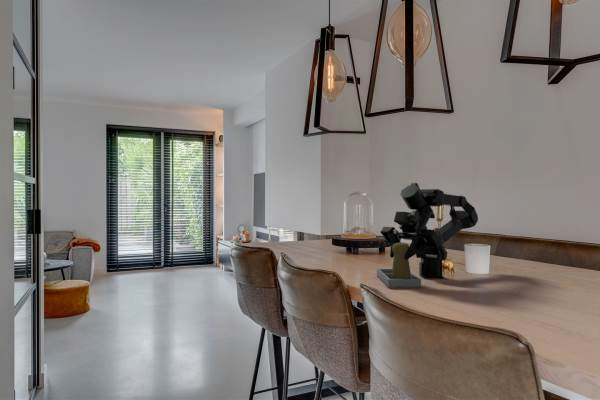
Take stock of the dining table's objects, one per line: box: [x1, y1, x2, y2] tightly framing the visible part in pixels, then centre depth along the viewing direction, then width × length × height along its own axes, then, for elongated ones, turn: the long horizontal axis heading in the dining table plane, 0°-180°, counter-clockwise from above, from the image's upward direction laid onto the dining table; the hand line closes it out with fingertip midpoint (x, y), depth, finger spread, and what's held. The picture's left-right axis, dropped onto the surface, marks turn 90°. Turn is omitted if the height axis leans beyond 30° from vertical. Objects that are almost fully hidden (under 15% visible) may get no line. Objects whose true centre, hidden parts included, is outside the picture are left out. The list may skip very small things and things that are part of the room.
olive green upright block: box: [391, 242, 412, 279], centre depth 128 cm, size 6×6×11 cm
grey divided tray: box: [376, 268, 422, 289], centre depth 132 cm, size 10×18×2 cm, turn 0°
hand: (398, 257), depth 127 cm, fingers closed on olive green upright block, 5 cm apart
